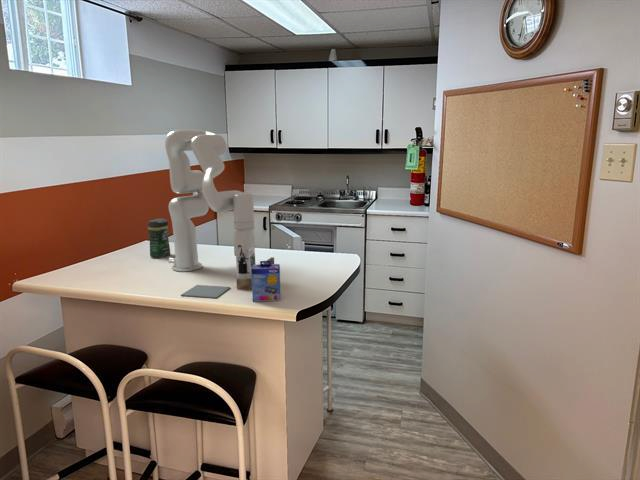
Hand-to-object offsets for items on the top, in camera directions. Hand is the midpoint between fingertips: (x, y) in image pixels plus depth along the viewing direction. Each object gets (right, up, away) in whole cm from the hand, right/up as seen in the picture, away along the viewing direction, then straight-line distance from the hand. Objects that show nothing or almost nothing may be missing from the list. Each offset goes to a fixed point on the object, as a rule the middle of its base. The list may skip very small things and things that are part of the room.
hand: (246, 270), depth 181 cm
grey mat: (-14, -7, -7) cm, 17 cm away
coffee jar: (-50, +4, +48) cm, 69 cm away
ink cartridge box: (+10, -9, -15) cm, 20 cm away
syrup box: (0, -5, +1) cm, 5 cm away
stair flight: (+3, -6, 0) cm, 7 cm away
